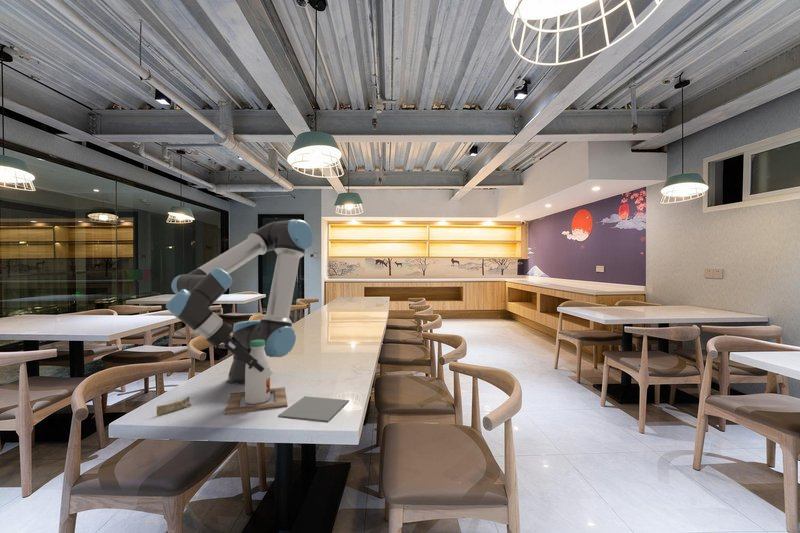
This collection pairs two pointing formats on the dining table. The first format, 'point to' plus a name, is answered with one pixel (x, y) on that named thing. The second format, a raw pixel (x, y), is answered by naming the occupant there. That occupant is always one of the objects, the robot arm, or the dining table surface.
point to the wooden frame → (235, 400)
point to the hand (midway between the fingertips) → (265, 371)
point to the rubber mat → (314, 409)
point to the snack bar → (173, 406)
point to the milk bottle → (257, 376)
